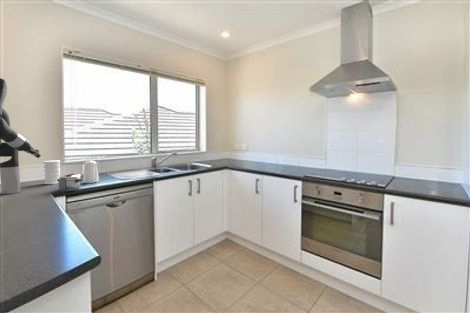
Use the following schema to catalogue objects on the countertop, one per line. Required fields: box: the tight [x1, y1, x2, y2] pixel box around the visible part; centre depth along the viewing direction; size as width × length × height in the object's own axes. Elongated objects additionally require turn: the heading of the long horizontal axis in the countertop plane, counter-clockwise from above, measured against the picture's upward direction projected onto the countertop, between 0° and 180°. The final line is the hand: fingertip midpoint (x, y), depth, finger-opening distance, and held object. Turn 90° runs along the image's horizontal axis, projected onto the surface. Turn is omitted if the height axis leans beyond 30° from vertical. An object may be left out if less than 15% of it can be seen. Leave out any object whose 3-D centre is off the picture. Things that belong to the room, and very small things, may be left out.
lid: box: [59, 172, 81, 179], centre depth 168 cm, size 13×12×2 cm
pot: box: [57, 176, 83, 192], centre depth 168 cm, size 14×16×8 cm
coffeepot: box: [82, 159, 100, 184], centre depth 194 cm, size 11×25×19 cm, turn 58°
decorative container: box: [42, 159, 61, 185], centre depth 190 cm, size 12×12×18 cm
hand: (38, 156), depth 151 cm, fingers closed
